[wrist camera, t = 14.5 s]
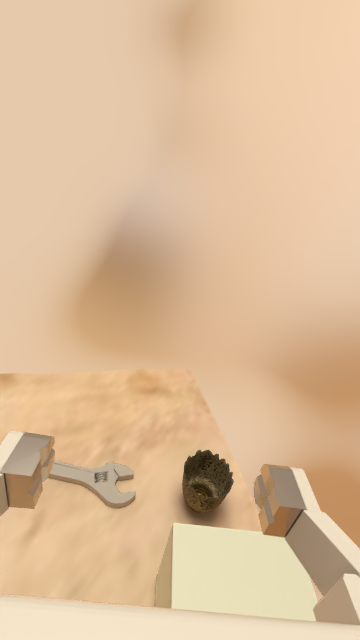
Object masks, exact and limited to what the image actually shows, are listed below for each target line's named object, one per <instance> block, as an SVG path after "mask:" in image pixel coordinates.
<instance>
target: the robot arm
mask: <svg viewBox="0 0 360 640" xmlns="http://www.w3.org/2000/svg"><path fill="white" fill-rule="evenodd" d="M53 445H54V437H52V436H46V435H40V434H33V433H27V432H20V431H13V430H12V431H10V432H9V433H8V434H7V435H6V437H5V438H4V440H3V441H2V443H1V444H0V516H1V515H2V514H3V513H4V512H5V511H6V510H7V509H8V507H17V508H29V509H34V508H35V506H36V503H37V501H38V499H39V497H40V494H41V492H42V490H43V489H42V482H43V481H44V480H46V479H47V478H48V476H49V474H50V472H51V469H52V466H53V462H54V456H55V451H54V450H53V449H52V447H53ZM254 497H255V502H256V504H257V505H258V506H259V508H260V509H261V511H260V513H259V519H260V524H261V528H262V532H263V535H269V536H276V537H283V538H285V540H286V542H287V543H288V545H289V546H290V548H291V549H292V551H293V552H294V554H295V555H296V557H297V558H298V560H299V561H300V563H301V564H302V565H303V567H304V568H305V570H306V571H307V573H308V574H309V576H310V577H311V579H312V580H313V582H314V583H315V585H316V586H317V587H318V589H319V591H320V592H321V594H322V595H323V597H322V599H320V601H319V602H318V603H317V604H316V605H315V606H314V608H313V612H314V615H315V618H316V621H307V620H295V619H284V618H273V617H261V616H250V615H239V614H227V613H216V612H205V611H193V610H182V609H171V608H159V607H148V606H137V605H125V604H114V603H102V602H91V601H80V600H68V599H57V598H46V597H34V596H23V595H11V594H0V640H360V549H359V548H358V547H357V546H356V545H355V543H353V541H352V540H351V539H350V538H349V537H348V536H347V535H346V534H345V533H344V532H343V531H342V530H341V529H340V528H339V527H338V526H337V525H336V524H335V523H334V522H333V521H332V520H331V519H330V518H329V516H328V515H327V514H326V513H324V512H321V510H320V508H319V506H318V503H317V501H316V498H315V496H314V494H313V491H312V489H311V487H310V484H309V482H308V480H307V477H306V475H305V472H304V471H303V470H302V469H299V468H291V467H285V466H277V465H268V464H264V465H263V466H262V468H261V475H259V476H258V477H257V478H256V480H255V484H254Z"/></svg>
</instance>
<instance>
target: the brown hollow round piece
mask: <svg viewBox="0 0 360 640" xmlns="http://www.w3.org/2000/svg"><path fill="white" fill-rule="evenodd" d="M229 470H230V469H229V464H226V461H225V459H220V460H219V454H215V456H214V455H213V454H212V452H211V451H210V450H205V451H203V452H201V450H198V451H197V452H196V455H195V456H192V457H191V456H189V457H188V458H187V461H186V462H185V465H184V474H183V494H184V497H185V499H186V501H187V503H188V504H189V505H190V507H191V508H192V509H193V510H194V511H196V512H209V511H212V510H214V509H215V508H217V507H218V506H219V505H220V504H221V502H222V501H223V500H224V498H225V497H226V495H227V494H228V493H229V491H230V489H231V487H232V485H233V482H234V480H233V479H232V474H233V472H229Z"/></svg>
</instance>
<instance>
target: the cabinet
mask: <svg viewBox="0 0 360 640" xmlns="http://www.w3.org/2000/svg"><path fill="white" fill-rule="evenodd" d="M317 603H318V601H317V598H316V595H315V591H314V588H313V585H312V582H311V579H310V576H309V574H308V573H307V571H306V570H305V568H304V567H303V565H302V564H301V563H300V561H299V560H298V558H297V557H296V555H295V554H294V552H293V551H292V549H291V548H290V546H289V545H288V543H287V542H286V540H285V538H283V537H276V536H269V535H263V532H258V531H248V530H239V529H229V528H220V527H210V526H200V525H191V524H181V523H173V526H172V529H171V532H170V535H169V538H168V542H167V545H166V548H165V551H164V555H163V558H162V561H161V564H160V567H159V571H158V574H157V577H156V592H155V607H159V608H171V609H182V610H193V611H205V612H216V613H227V614H239V615H250V616H261V617H273V618H284V619H295V620H307V621H316V618H315V615H314V612H313V608H314V606H315V605H316V604H317Z"/></svg>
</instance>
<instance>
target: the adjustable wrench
mask: <svg viewBox="0 0 360 640" xmlns="http://www.w3.org/2000/svg"><path fill="white" fill-rule="evenodd" d="M133 475H134V473H133V471H132V470H131V469H130V468H128V467H127V466H125V465H122V464H117V463H114V462H113V461H111V462H110V463H106V465H105V466H102V467H99V468H95V469H89V468H83V467H79V466H75V465H71V464H67V463H63V462H60V461H56V460H54V462H53V466H52V469H51V472H50V474H49V476H48V478H52V479H57V480H61V481H66V482H70V483H75V484H79V485H82V486H85V487H86V488H88V489H89V490H91V491H92V492H93V493H95V494H96V495H97V496H98V497H99V498H100V499H101V500H102V501H103V502H104V503H105V504H106V505H108V506H110V507H113V508H122V507H125V506H127V505H129V504H130V503H131V502H132V501H133V500H134V499H135V494H136V491H134V492H128V493H122V494H121V493H120V492H119V491H118V489H117V488H116V487H115V483H116V481H117V480H119V481H122V480H129V479H133ZM95 477H96V483H95Z"/></svg>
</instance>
